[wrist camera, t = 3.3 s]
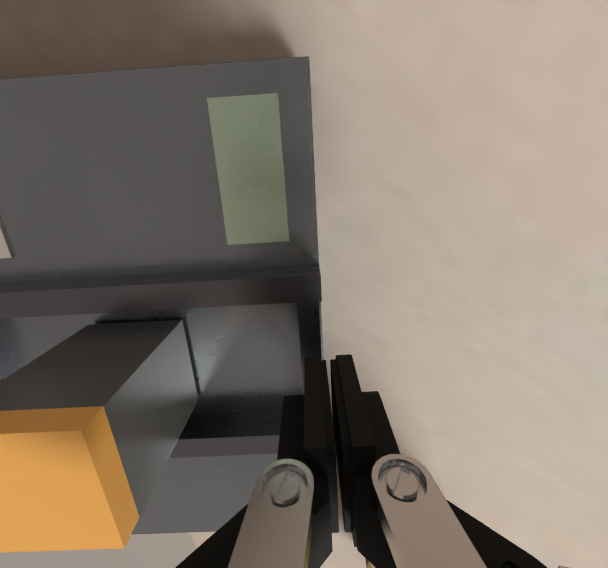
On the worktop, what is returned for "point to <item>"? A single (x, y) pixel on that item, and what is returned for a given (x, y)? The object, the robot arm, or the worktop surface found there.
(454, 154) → the worktop surface
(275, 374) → the panel
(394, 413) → the worktop surface
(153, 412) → the toggle
